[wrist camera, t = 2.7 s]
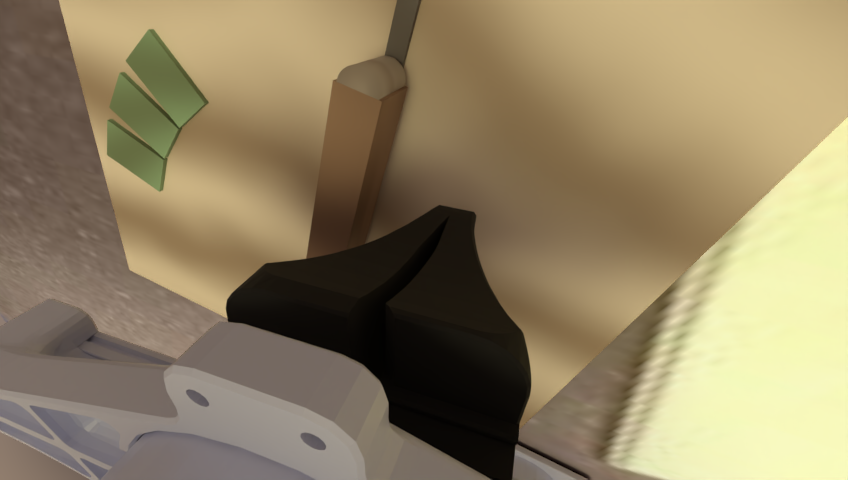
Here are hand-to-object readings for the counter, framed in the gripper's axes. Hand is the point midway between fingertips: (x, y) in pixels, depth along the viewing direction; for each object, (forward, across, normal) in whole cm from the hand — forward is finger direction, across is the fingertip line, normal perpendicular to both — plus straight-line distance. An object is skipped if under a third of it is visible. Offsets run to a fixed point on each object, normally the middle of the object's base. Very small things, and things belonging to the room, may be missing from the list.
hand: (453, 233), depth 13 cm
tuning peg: (+1, +4, +1) cm, 4 cm away
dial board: (+2, +5, 0) cm, 5 cm away
